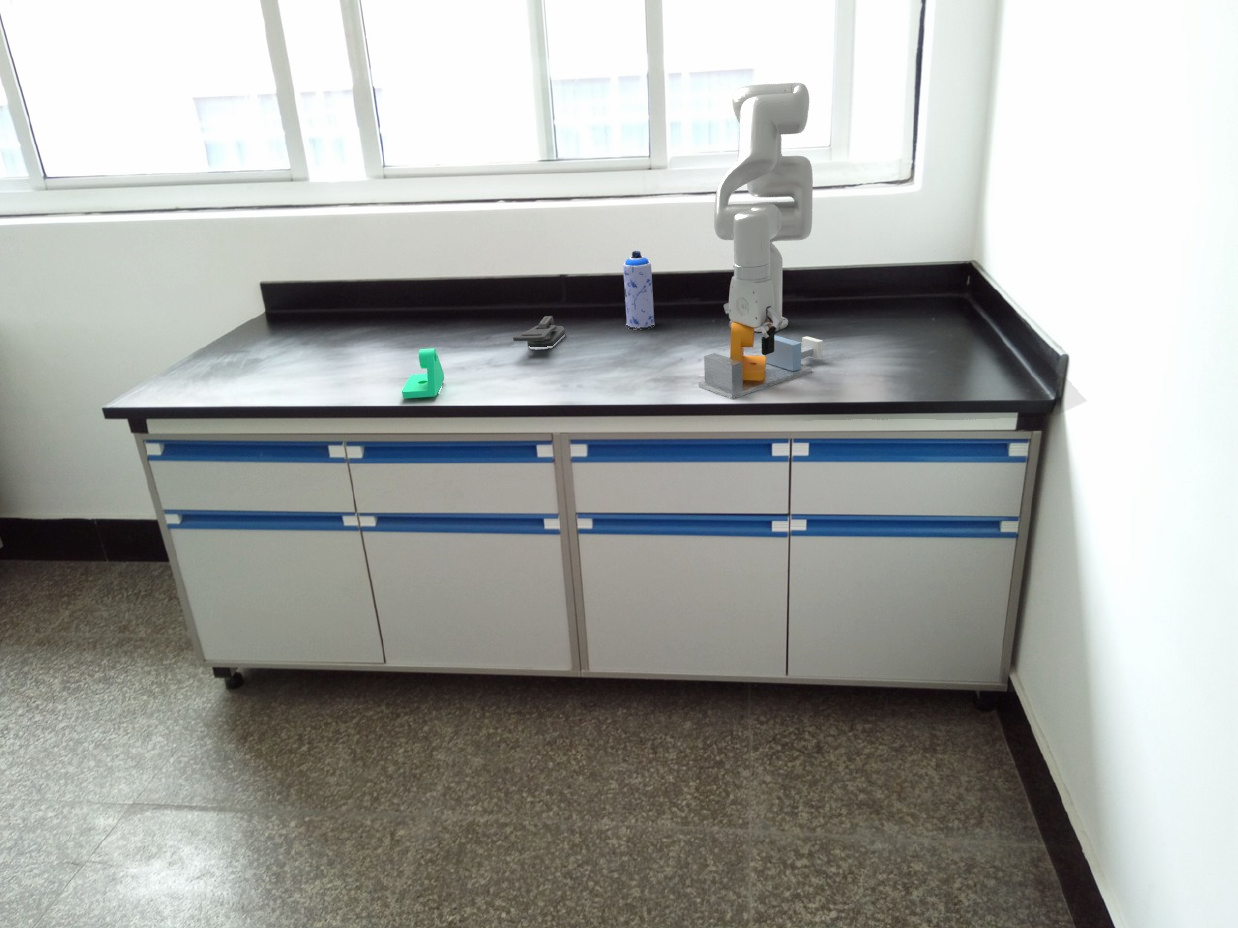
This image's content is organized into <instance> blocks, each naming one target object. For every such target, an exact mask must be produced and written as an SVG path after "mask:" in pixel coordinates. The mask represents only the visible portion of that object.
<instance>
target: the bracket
mask: <svg viewBox="0 0 1238 928" xmlns="http://www.w3.org/2000/svg"><path fill="white" fill-rule="evenodd" d="M754 342H755V331H754V328H752V327H749V326H745V325H742V324H739V323H736V322H732V325H731V327H730V352H729V358H731V359H734V360H738V361H741V362H743V380H764V377H765V371H766V357H765V355H744V354H745V353H744V348H754Z"/></svg>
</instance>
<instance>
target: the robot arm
mask: <svg viewBox="0 0 1238 928" xmlns="http://www.w3.org/2000/svg"><path fill="white" fill-rule="evenodd" d="M731 101H732V108H733V112H734V114H735V117H736V120H737V121H738V124H739V125H738V126H739V127H738V129H739V130H738V146H737V147H738V148H737V160H736V162H735V163H734V164H733V165H732V166H731V167H730V168H728V170H727V171H726V173H725V174H724V175H723V177H722V178H721V180H720V182H719V183H718V184H719V185H718V186H717V189H716V193H715V200H714V215H713V224H714V225H713V227H714V228H713V229H714V231H715V235H716V236H717V238H719V239H721V240H723V241H733V266H732V267H733V268H734V269H733V276H732V277H731V280H730V285H729V296H728V302H727V303H725V304H723V308H724V312H725V318H726V319H727V321H728V322H729V323H728V326H729V328H731V325H732V322H736V323H739V324H742V325H745V326H749V327H752V328H754V332H757V333H758V332H759V333H761V334H762V335H763V336H761V356H765V355H767V354H770V353H773V352H774V335H776V336H777V334H778V333H779V331H780V330H782V329H785V328H787V326H788V325H789V320H788V318H786V317H784V316H783V264H784V263H783V257H782V253H781V252H780V250H779V249H778V248H777V247H776V246H775V244H774V243H773V242H781V241H782V242H786V241H794V242H795V241H803V240H806V239H808V237H809V236H810V235H811V232H812V229H813V227H812V226H813V187H814V186H813V183H814V181H813V180H814V179H813V178H814V177H813V166H812V163H811V161H810V159H809V158H808V157H806V156H803V155H802V156H801V155H787V156H786V155H783V154H782V135H795V134H801V133H802V132H803V131H805V127H806V126H807V123H808V117H809V110H810V109H809V108H810V94H809V90H808V87H807V85H805V84H804V83H802V82H788V83H767V84H766V83H765V84H754V85H753V84H752V85H745V86H742V87H739V88H738V89H736V90H735V91H734V93H733V94H732V100H731ZM745 185H746V187H747V191H748V193H749V194H750V195H751V197H752V196H753V197H755V198H784V197H785V198H787V197H789V198H792V199H793V201H790V200H789V201H762V202H761V201H760V202H755V203H754V202H753V203H736V204H735V203H731V204H729V200H730V198H731V196H732V195H733V194H734V193H735V192H736V191H737V190H738V189H740V188H742V187H743V186H745Z"/></svg>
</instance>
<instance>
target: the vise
mask: <svg viewBox="0 0 1238 928" xmlns="http://www.w3.org/2000/svg"><path fill="white" fill-rule="evenodd" d="M703 359H704V360H703V367H704V380H701V381H699V382H698V388H701V387H702V389H704V390H706V391H709V390H710V392H712V393H715V394H717V393H718V395H720V394H721V396H723V395H724V397H725V396H727V397H726V398H728V397H730V398H734V399H736V398H735V397H737V398H739V397H742V396H745V395H748V394H751V393H753V392H757V391H761V390H763V389H766V388H769V387H771V386H774V385H777V384H780V383H783V382H786V381H789V380H793V379H795V378H798V377H801V376H804V375H806V374H810V373H812V372H813V367H811V366H807V365H804V364H802V363H801V369H798V370H795V371H791V370H788V369H784V368H781V367H778V366H775V365H772V364H769V363H766V371H765V377H764V380H743V362H741V361H738V360H734V359H731V358H730V357H729V356H725V355H722V354H718V353H716V352H713V353H711V354H706V355H703ZM730 398H729V399H730Z"/></svg>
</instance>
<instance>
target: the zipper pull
mask: <svg viewBox="0 0 1238 928" xmlns="http://www.w3.org/2000/svg"><path fill="white" fill-rule="evenodd" d="M554 320H555V319H554V316H553V315H550V316H549V315H548V316H547V315H546V316H544V317H542V319H541V320H540V322H539V323H538V325H536V326H534V327H532V328H530V329H528V330H526V331H524V332H522V333H519V334H517V335H515V336H513V337H512V340H513V341H514V342H526V343H527V347H528V346H530V347H547V346H553V345H554V344H555V343H556V342H557V341H558V340H559V339H560V338H561V337H562V336H563V335H564V334H565V335H566V332H565V331H566V330H565V328H564V326H563V325H555V321H554Z"/></svg>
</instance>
